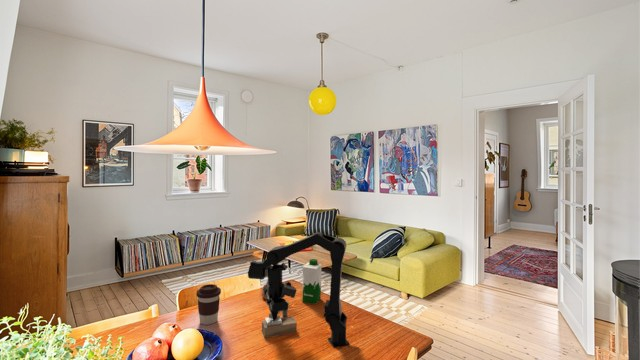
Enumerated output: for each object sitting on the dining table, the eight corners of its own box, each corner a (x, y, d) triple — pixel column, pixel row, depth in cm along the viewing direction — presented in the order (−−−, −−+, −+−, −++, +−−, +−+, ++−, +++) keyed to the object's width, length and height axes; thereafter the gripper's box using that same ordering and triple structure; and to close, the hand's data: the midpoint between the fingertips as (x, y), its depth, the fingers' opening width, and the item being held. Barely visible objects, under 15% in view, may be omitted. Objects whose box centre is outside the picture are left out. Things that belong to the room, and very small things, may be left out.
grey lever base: (296, 332, 131) (297, 317, 131) (264, 338, 127) (264, 322, 127) (288, 319, 143) (289, 305, 143) (258, 323, 138) (258, 309, 138)
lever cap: (281, 324, 130) (281, 319, 130) (266, 326, 128) (266, 321, 128) (279, 319, 134) (279, 314, 134) (264, 321, 132) (264, 316, 132)
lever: (283, 304, 143) (283, 300, 143) (290, 305, 142) (290, 302, 142) (266, 317, 130) (266, 313, 130) (274, 319, 129) (274, 315, 129)
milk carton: (322, 298, 166) (323, 259, 165) (316, 305, 157) (316, 264, 156) (306, 296, 169) (307, 258, 168) (299, 302, 160) (300, 262, 159)
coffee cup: (195, 328, 134) (195, 292, 133) (197, 317, 143) (197, 283, 143) (220, 325, 137) (220, 290, 136) (220, 314, 146) (221, 281, 145)
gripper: (301, 285, 122) (301, 326, 123) (288, 270, 139) (288, 306, 140) (272, 289, 118) (272, 331, 119) (262, 273, 135) (262, 310, 136)
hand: (274, 318), depth 128 cm, fingers closed
